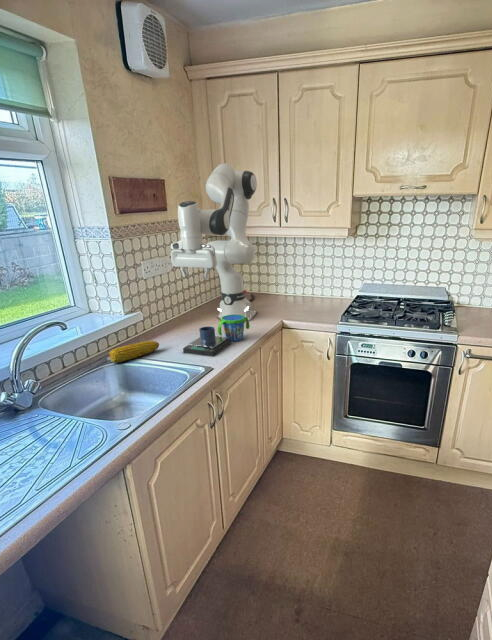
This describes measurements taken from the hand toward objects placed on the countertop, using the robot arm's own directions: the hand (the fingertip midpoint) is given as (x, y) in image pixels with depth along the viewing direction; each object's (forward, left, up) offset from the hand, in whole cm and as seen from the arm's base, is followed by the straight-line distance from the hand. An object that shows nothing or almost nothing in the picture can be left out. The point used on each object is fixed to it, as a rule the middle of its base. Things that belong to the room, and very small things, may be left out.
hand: (195, 278), depth 175 cm
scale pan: (+10, +9, -25) cm, 28 cm away
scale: (+11, +9, -27) cm, 31 cm away
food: (+29, -14, -27) cm, 42 cm away
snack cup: (-3, +15, -27) cm, 31 cm away
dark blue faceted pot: (+10, +9, -24) cm, 28 cm away
